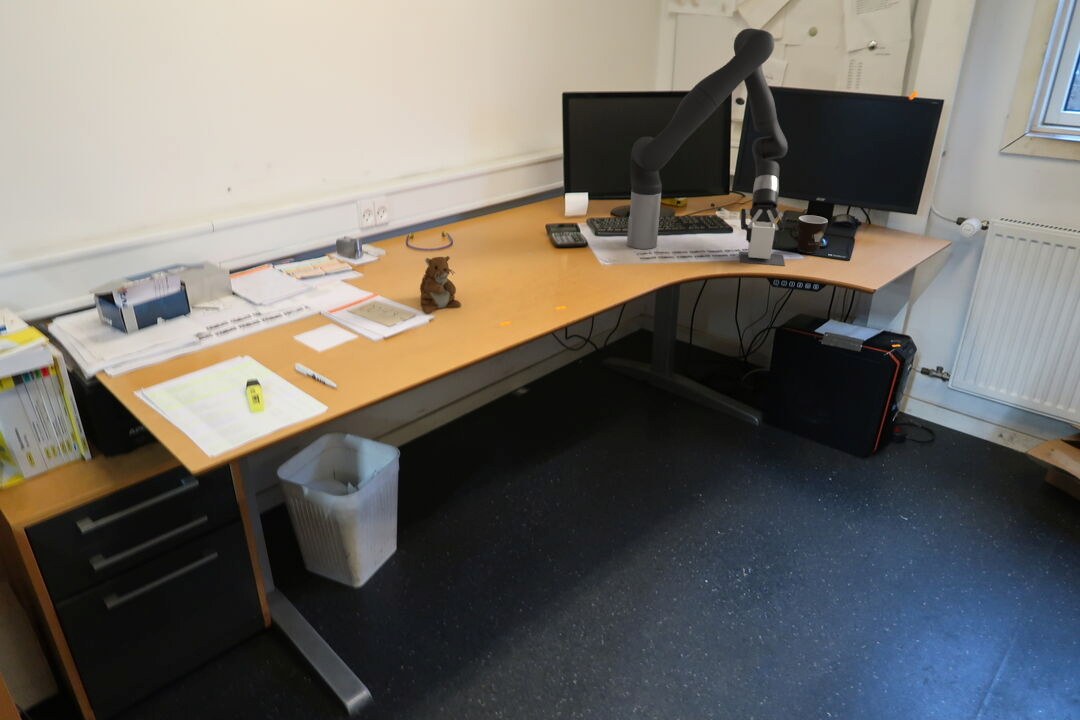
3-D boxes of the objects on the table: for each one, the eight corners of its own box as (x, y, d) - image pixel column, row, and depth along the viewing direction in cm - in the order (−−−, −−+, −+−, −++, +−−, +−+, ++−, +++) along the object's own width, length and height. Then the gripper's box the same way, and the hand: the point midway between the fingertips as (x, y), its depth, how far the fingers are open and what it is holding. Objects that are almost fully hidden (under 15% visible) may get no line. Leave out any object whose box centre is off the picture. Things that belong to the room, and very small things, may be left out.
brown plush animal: (426, 316, 186) (423, 266, 180) (410, 296, 198) (407, 249, 192) (464, 309, 190) (462, 261, 184) (446, 291, 202) (444, 244, 196)
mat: (740, 262, 224) (740, 261, 224) (739, 251, 233) (739, 251, 233) (784, 266, 222) (785, 265, 222) (782, 255, 231) (783, 254, 230)
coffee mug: (818, 246, 239) (824, 216, 234) (824, 255, 231) (831, 223, 227) (781, 244, 240) (786, 214, 235) (786, 253, 232) (791, 222, 228)
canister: (748, 257, 225) (752, 226, 221) (747, 250, 231) (752, 220, 226) (770, 258, 224) (775, 228, 219) (769, 252, 229) (774, 222, 225)
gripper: (742, 185, 226) (738, 234, 222) (791, 188, 224) (788, 238, 219) (740, 198, 233) (735, 246, 229) (787, 201, 231) (784, 250, 226)
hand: (761, 242), depth 224 cm, fingers closed on canister, 6 cm apart
